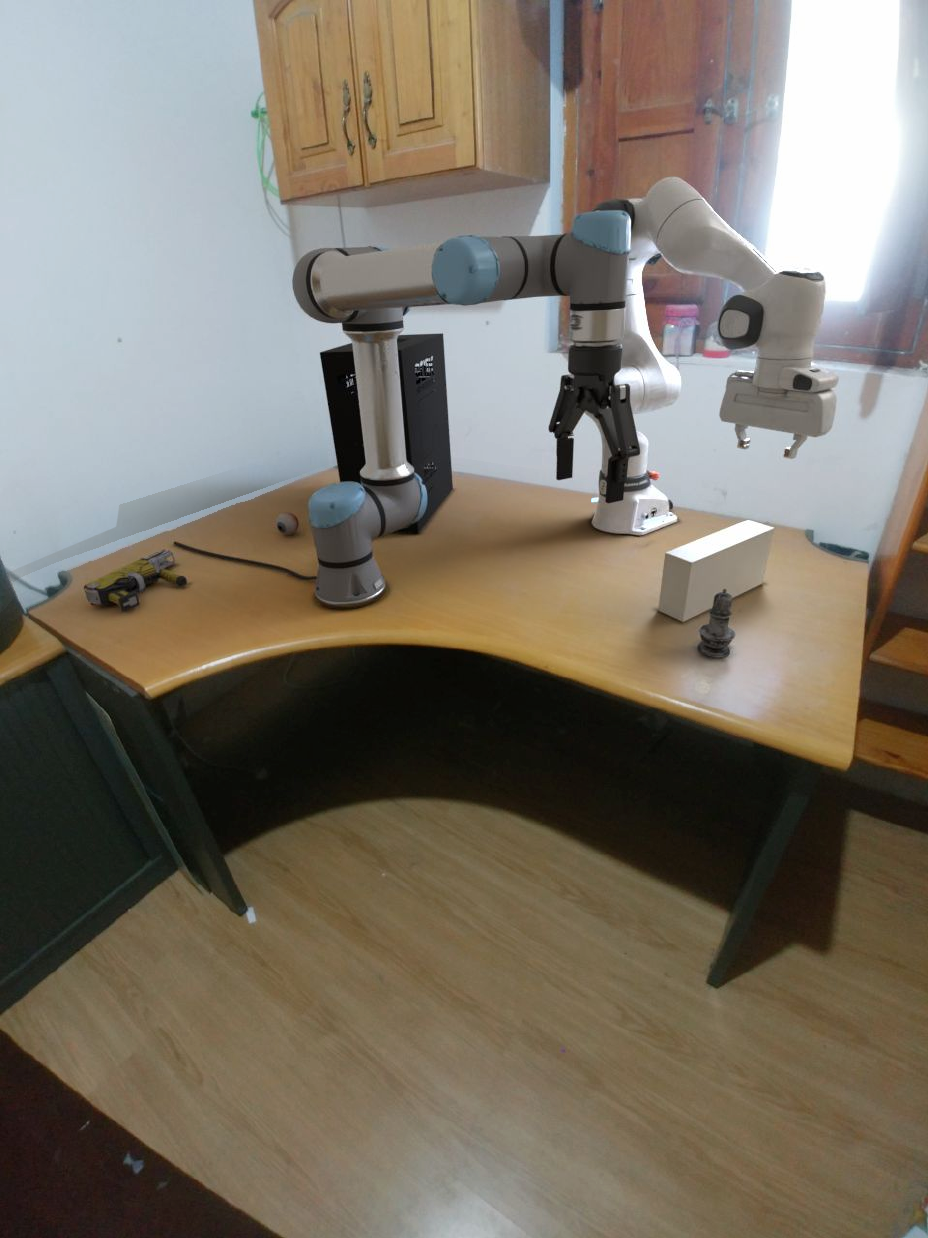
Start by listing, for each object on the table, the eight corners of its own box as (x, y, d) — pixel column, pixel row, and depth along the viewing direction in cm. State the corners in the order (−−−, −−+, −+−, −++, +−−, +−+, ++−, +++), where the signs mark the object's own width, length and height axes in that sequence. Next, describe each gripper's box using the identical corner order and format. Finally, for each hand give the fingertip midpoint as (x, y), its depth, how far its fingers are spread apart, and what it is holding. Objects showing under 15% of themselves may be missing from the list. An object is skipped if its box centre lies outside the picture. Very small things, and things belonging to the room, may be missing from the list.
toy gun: (210, 557, 146) (160, 546, 150) (132, 599, 126) (77, 585, 130) (213, 575, 148) (164, 564, 152) (137, 618, 128) (82, 604, 132)
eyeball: (273, 537, 164) (268, 516, 161) (287, 528, 169) (282, 508, 166) (291, 539, 161) (286, 518, 158) (305, 530, 166) (301, 510, 163)
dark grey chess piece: (734, 659, 103) (747, 597, 97) (698, 657, 104) (708, 596, 98) (728, 641, 108) (740, 581, 102) (694, 639, 109) (704, 580, 103)
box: (737, 574, 131) (747, 519, 125) (762, 583, 127) (774, 527, 120) (657, 610, 119) (665, 552, 113) (682, 622, 115) (691, 562, 109)
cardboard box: (418, 533, 160) (401, 349, 138) (347, 530, 165) (319, 352, 142) (452, 488, 192) (443, 333, 169) (392, 487, 196) (375, 335, 174)
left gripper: (528, 339, 94) (527, 473, 104) (630, 352, 74) (617, 517, 84) (568, 335, 96) (564, 466, 107) (678, 347, 76) (659, 507, 87)
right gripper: (718, 371, 112) (707, 446, 119) (828, 382, 97) (808, 467, 104) (739, 367, 115) (727, 440, 122) (849, 377, 100) (828, 460, 107)
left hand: (587, 489), depth 96 cm, fingers open, 13 cm apart
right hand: (765, 452), depth 113 cm, fingers open, 8 cm apart
